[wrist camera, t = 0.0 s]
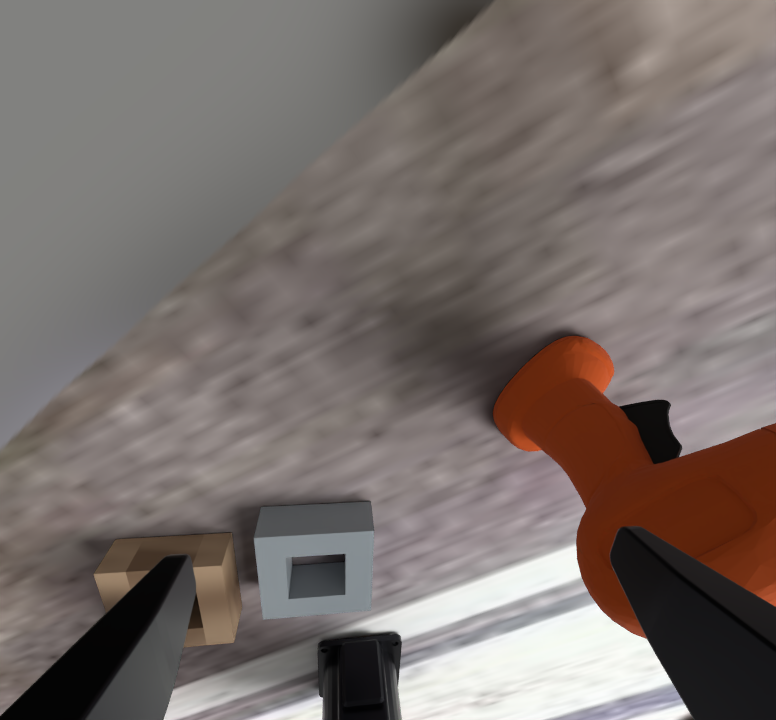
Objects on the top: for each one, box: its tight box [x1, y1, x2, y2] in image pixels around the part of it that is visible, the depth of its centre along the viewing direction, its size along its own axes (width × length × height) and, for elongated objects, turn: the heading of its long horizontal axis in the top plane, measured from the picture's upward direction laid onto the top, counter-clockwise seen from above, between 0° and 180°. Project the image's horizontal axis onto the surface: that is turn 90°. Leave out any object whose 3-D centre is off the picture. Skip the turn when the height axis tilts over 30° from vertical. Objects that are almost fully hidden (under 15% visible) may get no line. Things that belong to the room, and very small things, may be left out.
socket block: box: [94, 533, 242, 647], centre depth 26 cm, size 7×7×2 cm
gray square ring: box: [254, 501, 374, 620], centre depth 26 cm, size 7×7×2 cm
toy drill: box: [493, 336, 776, 639], centre depth 17 cm, size 5×19×15 cm, turn 138°
